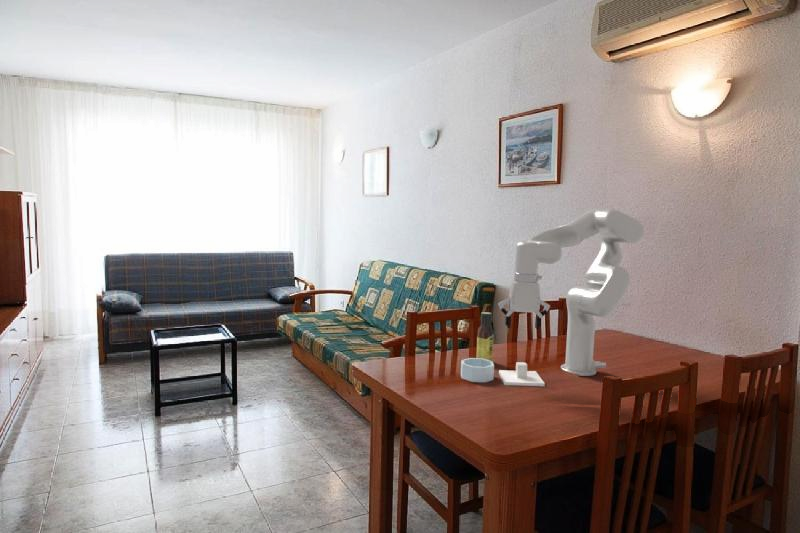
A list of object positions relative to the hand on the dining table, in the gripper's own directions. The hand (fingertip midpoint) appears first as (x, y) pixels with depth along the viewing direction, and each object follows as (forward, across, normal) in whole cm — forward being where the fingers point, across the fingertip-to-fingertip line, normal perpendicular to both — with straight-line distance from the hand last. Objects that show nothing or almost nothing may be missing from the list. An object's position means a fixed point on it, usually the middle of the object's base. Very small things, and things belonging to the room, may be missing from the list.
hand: (522, 328), depth 180 cm
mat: (+19, 0, 0) cm, 19 cm away
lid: (+18, 0, 0) cm, 18 cm away
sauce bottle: (+19, +10, -19) cm, 28 cm away
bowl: (+19, +15, -1) cm, 24 cm away
